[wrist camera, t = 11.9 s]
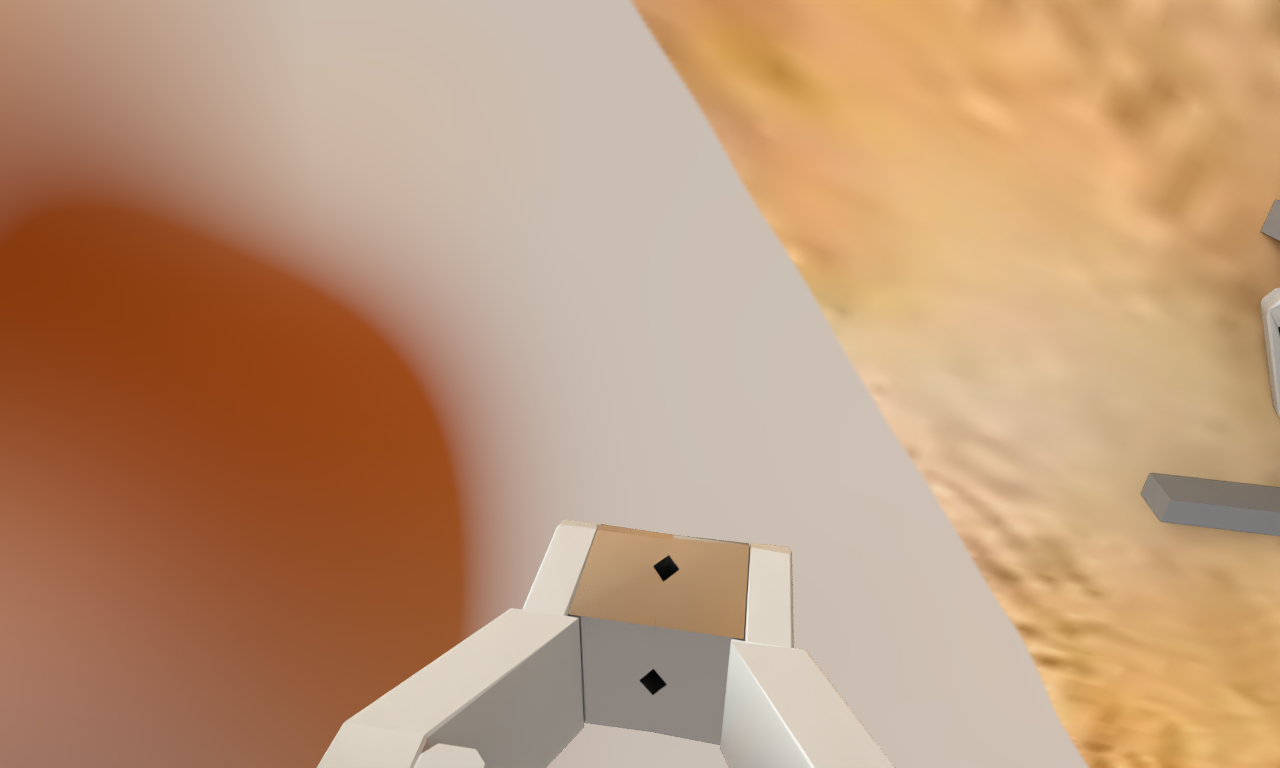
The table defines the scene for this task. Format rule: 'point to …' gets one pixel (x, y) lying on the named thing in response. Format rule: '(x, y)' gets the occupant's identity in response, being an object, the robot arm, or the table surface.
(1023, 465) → the table surface
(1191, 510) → the frame
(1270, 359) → the electrical switch
